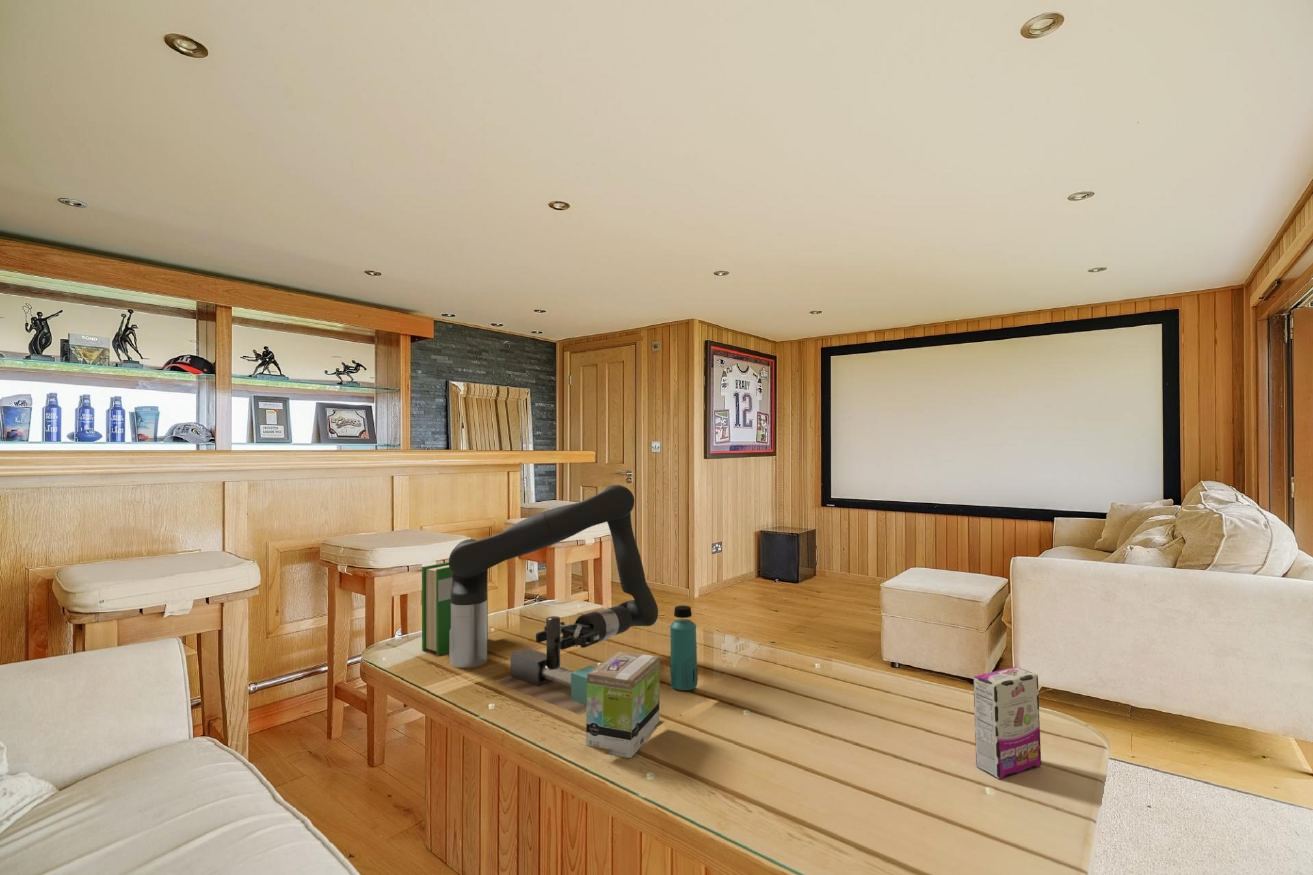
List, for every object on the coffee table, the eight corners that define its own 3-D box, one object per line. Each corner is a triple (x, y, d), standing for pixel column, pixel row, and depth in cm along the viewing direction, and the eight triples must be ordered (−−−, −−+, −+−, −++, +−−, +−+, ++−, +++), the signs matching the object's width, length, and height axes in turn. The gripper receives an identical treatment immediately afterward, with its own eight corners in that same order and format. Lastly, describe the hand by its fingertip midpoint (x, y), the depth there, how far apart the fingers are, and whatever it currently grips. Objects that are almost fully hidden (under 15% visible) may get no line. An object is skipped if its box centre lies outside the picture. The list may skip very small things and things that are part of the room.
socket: (571, 699, 139) (571, 673, 139) (590, 691, 144) (590, 665, 144) (591, 707, 135) (591, 679, 135) (611, 698, 140) (610, 672, 140)
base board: (494, 686, 151) (494, 681, 151) (539, 670, 162) (539, 665, 162) (579, 719, 132) (579, 714, 132) (624, 699, 142) (624, 693, 142)
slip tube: (515, 670, 154) (514, 611, 155) (526, 666, 157) (525, 608, 157) (570, 690, 141) (570, 625, 142) (581, 686, 144) (581, 622, 144)
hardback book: (438, 655, 174) (438, 569, 174) (422, 651, 178) (421, 566, 178) (487, 639, 188) (487, 559, 189) (471, 635, 193) (471, 557, 193)
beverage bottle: (696, 698, 143) (695, 610, 143) (667, 696, 144) (666, 609, 144) (699, 687, 149) (698, 603, 149) (672, 685, 150) (671, 602, 151)
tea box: (633, 760, 115) (632, 679, 115) (584, 751, 118) (584, 673, 118) (661, 726, 129) (660, 654, 129) (616, 719, 132) (616, 649, 132)
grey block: (510, 676, 154) (510, 653, 154) (527, 670, 158) (527, 647, 158) (537, 686, 147) (537, 662, 147) (555, 680, 151) (555, 656, 151)
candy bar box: (1016, 754, 116) (1014, 665, 116) (1042, 766, 111) (1040, 674, 111) (973, 767, 111) (971, 674, 111) (998, 780, 107) (996, 684, 107)
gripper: (578, 607, 164) (529, 620, 151) (617, 616, 155) (568, 631, 142) (578, 635, 164) (529, 651, 151) (617, 646, 155) (568, 664, 142)
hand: (548, 641), depth 147 cm, fingers open, 8 cm apart
